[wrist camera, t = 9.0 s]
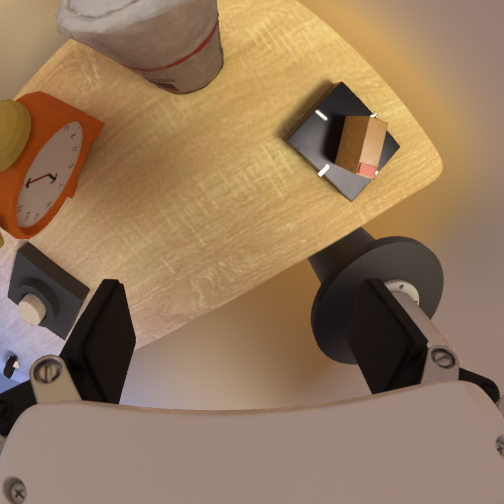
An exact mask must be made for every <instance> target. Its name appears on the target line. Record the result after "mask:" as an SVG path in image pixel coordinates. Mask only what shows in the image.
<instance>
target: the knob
mask: <svg viewBox="0 0 504 504" xmlns="http://www.w3.org/2000/svg"><path fill="white" fill-rule="evenodd" d="M387 126H388V123H386V122H384V121H381V120H379V119H376V118H373V117H371V116H346V118H345V122H344V127H343V131H342V136H341V140H340V144H339V149H338V153H337V157H336V161H335V165H337V166H339V167H341V168H343V169H345V170H347V171H349V172H351V173H354V174H356V175H359V176H363V177H366V178H369V179H373V180H374V178H375V175H376V171H377V167H378V163H379V159H380V155H381V151H382V147H383V143H384V139H385V134H386V130H387Z"/></svg>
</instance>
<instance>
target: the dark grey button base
mask: <svg viewBox="0 0 504 504" xmlns="http://www.w3.org/2000/svg"><path fill="white" fill-rule="evenodd" d="M89 291H90V289H89V288H88V287H86V286H85V285H84V284H82V283H81V282H79V281H78V280H77V279H75V278H74V277H73V276H71V275H70V274H68V273H67V272H66V271H64V270H63V269H62V268H60V267H59V266H58V265H57V264H55V263H54V262H53V261H51V260H50V259H49V258H48V257H46V256H45V255H44V254H43V253H41V252H40V251H39V250H38V249H36V248H35V247H34V246H33V245H32V244H30V243H29V242H27V243H26V244H25V245H24V246H22V247H21V248H20V249H19V250H18V251H17V254H16V258H15V262H14V267H13V271H12V276H11V280H10V285H9V291H8V298H10V299H11V300H12V301H13V302H14V303H16V304H17V305H19V303H20V302H21V300H22V299H23V298H24V297H25V296H26V295H27V294H34V295H35V296H37V297H38V298H39V299H40V300H41V301H42V303H43V304H44V306H45V308H46V314H45V316H44V317H43V319H42V320H41V322H40V323H39V324H38V326H42V327H46V328H48V329H49V330H50V331H52V332H53V333H55V334H56V335H58V336H59V337H60V338H62V339H63V340H65V339H66V337H67V336H68V334H69V332H70V330H71V329H72V326H73V324H74V322H75V320H76V318H77V315H78V313H79V311H80V309H81V307H82V305H83V303H84V301H85V299H86V297H87V295H88V293H89Z"/></svg>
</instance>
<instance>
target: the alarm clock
mask: <svg viewBox="0 0 504 504" xmlns="http://www.w3.org/2000/svg"><path fill="white" fill-rule="evenodd" d="M103 125H104V123H103V122H101V121H99V120H97V119H95V118H93V117H92V116H90V115H88V114H86V113H85V112H83V111H81V110H79V109H77V108H75V107H73V106H71V105H69V104H67V103H65V102H63V101H61V100H59V99H57V98H55V97H53V96H51V95H49V94H46V93H43V92H40V91H38V92H34V93H29V94H25V95H24V96H22V97H21V98H19V99H17V100H16V101H14V100H10V99H8V100H3V101H0V227H1V228H2V229H4V230H5V231H6V232H8V233H9V234H11V235H12V236H13V237H15V238H16V239H30V238H31V237H33V236H35V235H37V234H38V233H39V232H41V231H42V230H43V229H44V228H45V227H46V226H47V225H48V224H49V222H50V221H51V220H52V219H53V217H54V216H55V215H56V214H57V212H58V211H59V209H60V208H61V206H62V205H63V203H64V202H65V200H66V199H67V197H70V198H73V195H74V192H75V190H76V187H77V184H78V183H77V182H76V180H77V178H78V176H79V174H80V172H81V169H82V167H83V165H84V162H85V159H86V157H87V154H88V151H89V147H90V145H91V144H92V143H93V142H94V141H95V140H96V139H97V137H98V135H99V133H100V131H101V129H102V127H103ZM3 244H4V239H3V237H2V235H1V233H0V248H1V247H2V246H3Z"/></svg>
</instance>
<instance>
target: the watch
mask: <svg viewBox="0 0 504 504" xmlns="http://www.w3.org/2000/svg"><path fill="white" fill-rule="evenodd" d="M15 368H20V367H19V363H18V361H17V359H16V358H14V357H13V356H12V355H11V356H9V357H8V361H7V363H6V365H5V368H4V372H3V373H4V375H5V376H6V377H7V378H9V379H10V378H11V376H12V374H13V372H14V370H15Z"/></svg>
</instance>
